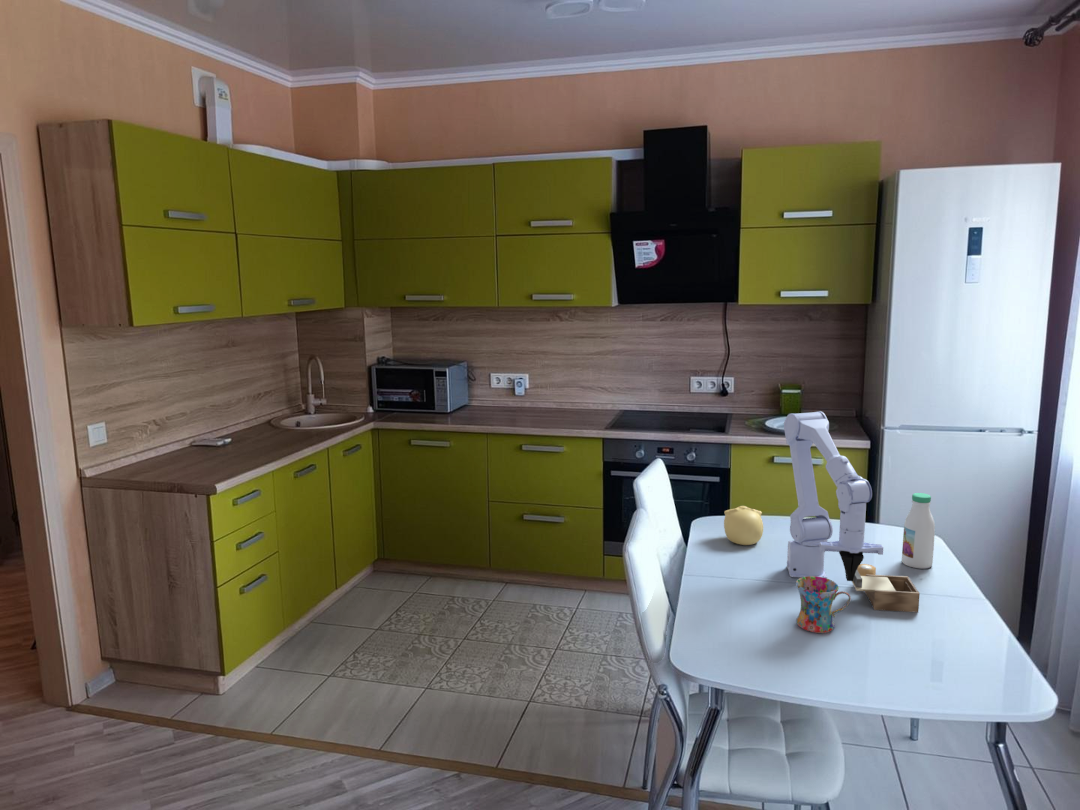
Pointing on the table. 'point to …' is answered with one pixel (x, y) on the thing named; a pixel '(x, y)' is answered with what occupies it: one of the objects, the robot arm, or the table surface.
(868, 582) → the lid
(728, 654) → the table surface
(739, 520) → the pale yellow round lump
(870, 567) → the roll-on deodorant
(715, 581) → the table surface
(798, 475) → the robot arm
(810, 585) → the mug
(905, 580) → the wooden box
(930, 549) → the milk bottle
